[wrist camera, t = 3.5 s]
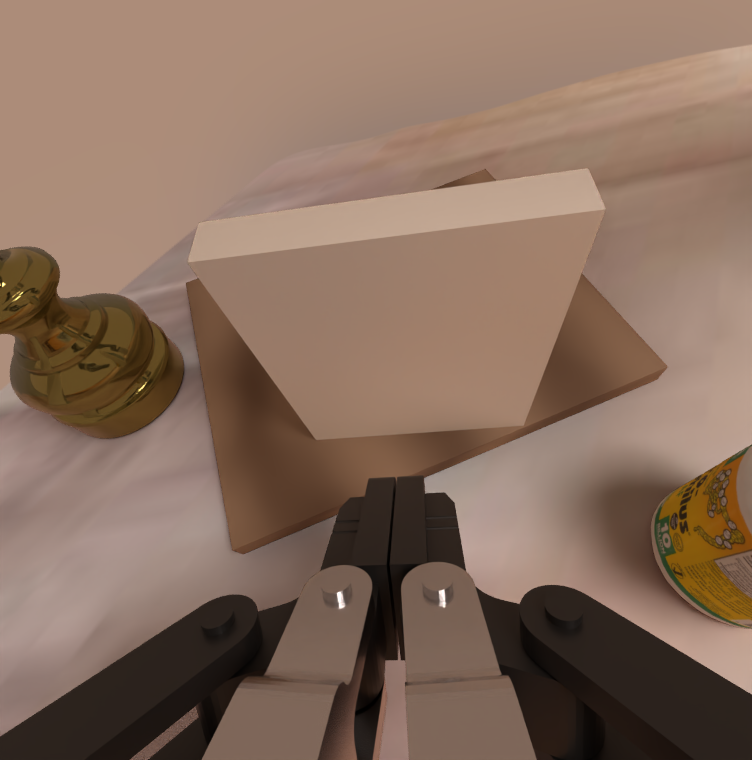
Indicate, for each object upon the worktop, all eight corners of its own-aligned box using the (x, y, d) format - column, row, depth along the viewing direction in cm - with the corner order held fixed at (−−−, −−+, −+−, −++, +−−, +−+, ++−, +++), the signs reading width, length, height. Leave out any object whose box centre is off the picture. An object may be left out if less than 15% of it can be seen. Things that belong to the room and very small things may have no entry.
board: (484, 184, 30) (485, 169, 29) (657, 379, 21) (667, 366, 20) (195, 295, 29) (185, 283, 28) (243, 554, 20) (232, 550, 19)
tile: (517, 396, 20) (587, 166, 10) (523, 425, 20) (606, 208, 9) (317, 411, 22) (199, 221, 11) (315, 440, 21) (186, 262, 11)
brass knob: (125, 325, 29) (-12, 198, 20) (210, 353, 26) (95, 223, 18) (48, 418, 26) (-153, 315, 17) (136, 459, 23) (-47, 364, 15)
